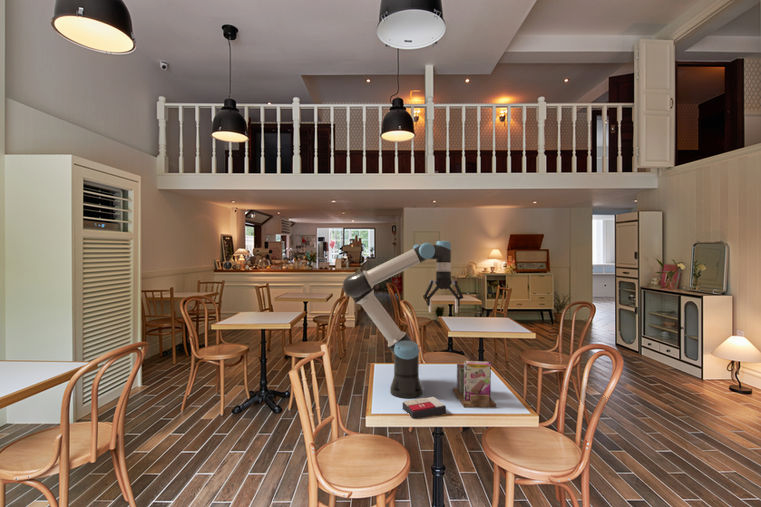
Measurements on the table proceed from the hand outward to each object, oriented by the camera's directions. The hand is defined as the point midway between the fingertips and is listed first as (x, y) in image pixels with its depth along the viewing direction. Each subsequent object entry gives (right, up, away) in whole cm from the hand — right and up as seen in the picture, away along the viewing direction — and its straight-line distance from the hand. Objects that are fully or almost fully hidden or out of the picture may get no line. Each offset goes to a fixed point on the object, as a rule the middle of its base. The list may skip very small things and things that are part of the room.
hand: (443, 312), depth 188 cm
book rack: (+10, -36, -21) cm, 43 cm away
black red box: (-14, -36, -36) cm, 53 cm away
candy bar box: (+11, -35, -26) cm, 44 cm away
